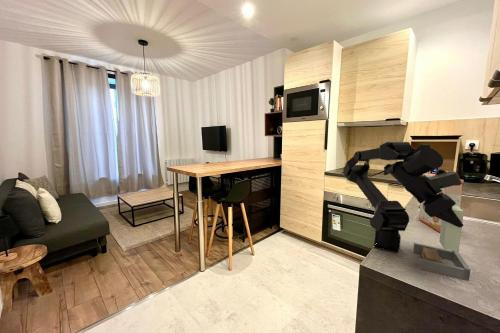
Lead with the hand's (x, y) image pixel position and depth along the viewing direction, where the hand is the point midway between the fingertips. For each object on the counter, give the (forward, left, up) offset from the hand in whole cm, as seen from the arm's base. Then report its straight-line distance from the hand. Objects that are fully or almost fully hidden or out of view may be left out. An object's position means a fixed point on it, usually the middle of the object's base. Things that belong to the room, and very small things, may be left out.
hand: (458, 223), depth 57 cm
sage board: (-1, 0, -7) cm, 7 cm away
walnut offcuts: (-5, 0, -13) cm, 14 cm away
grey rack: (-3, 0, -13) cm, 13 cm away
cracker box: (+2, +34, -13) cm, 36 cm away
